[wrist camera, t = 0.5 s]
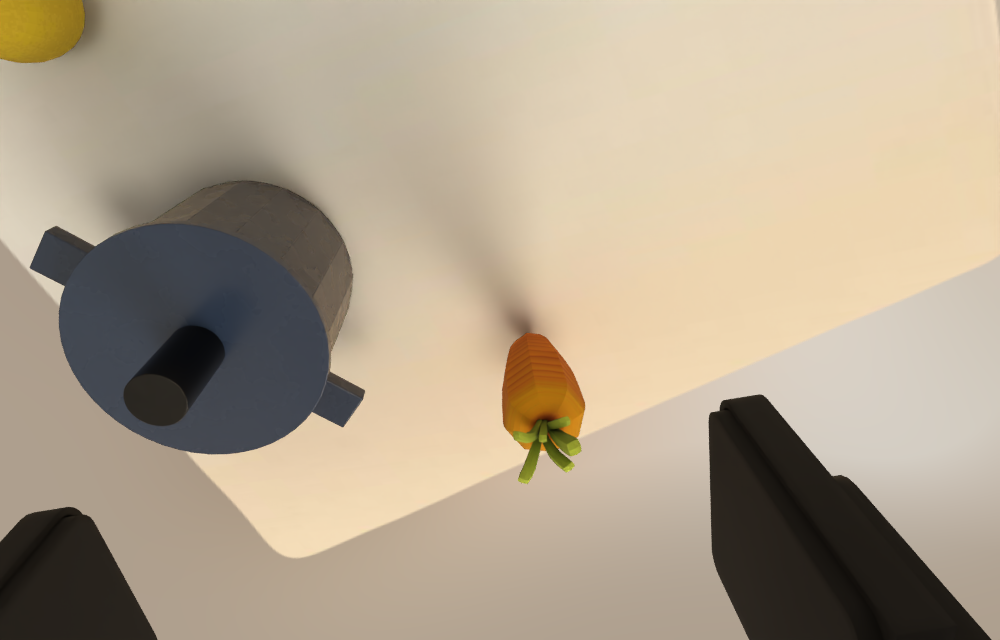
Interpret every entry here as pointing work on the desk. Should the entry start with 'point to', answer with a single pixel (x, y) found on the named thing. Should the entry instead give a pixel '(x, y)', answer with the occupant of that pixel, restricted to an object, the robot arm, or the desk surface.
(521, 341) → the carrot
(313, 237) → the pot
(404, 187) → the desk surface
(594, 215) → the desk surface
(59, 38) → the lemon
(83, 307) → the lid
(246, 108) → the desk surface
